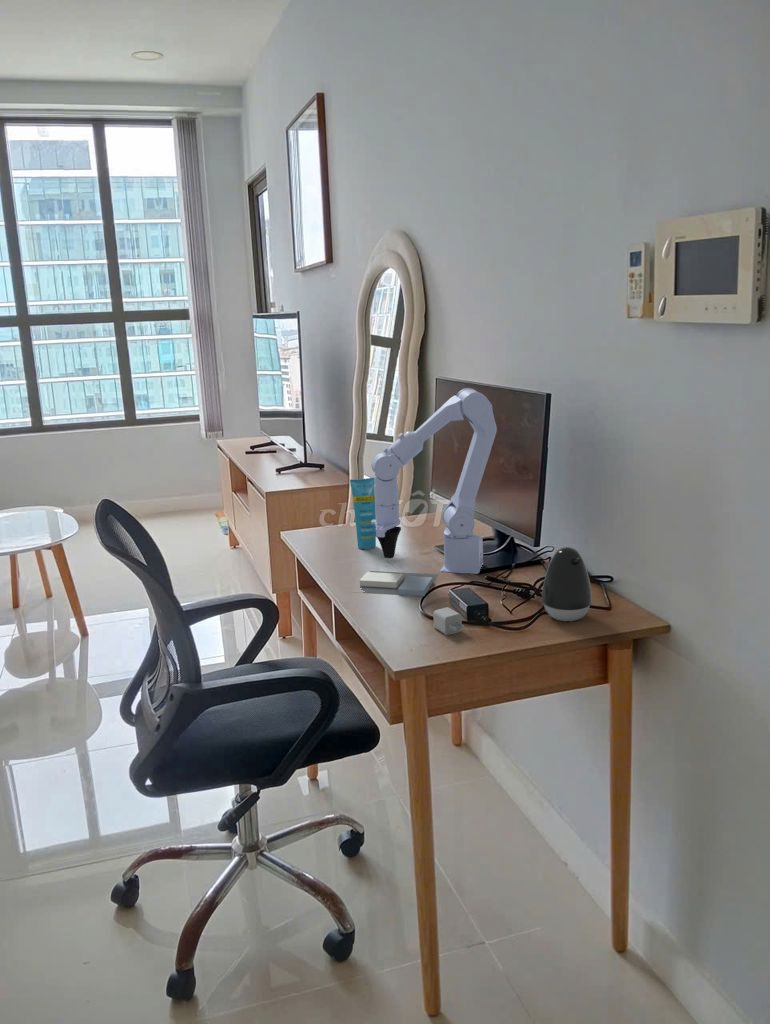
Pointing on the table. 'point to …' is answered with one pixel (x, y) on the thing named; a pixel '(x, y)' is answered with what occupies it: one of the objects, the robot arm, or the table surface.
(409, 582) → the slate board
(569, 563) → the grey egg shaped device
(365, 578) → the cream board
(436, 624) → the usb wall charger
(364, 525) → the tube
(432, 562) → the table surface
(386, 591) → the mat
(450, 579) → the table surface
